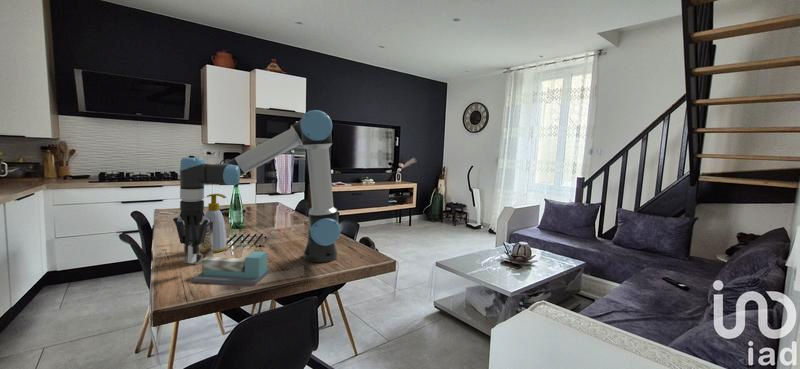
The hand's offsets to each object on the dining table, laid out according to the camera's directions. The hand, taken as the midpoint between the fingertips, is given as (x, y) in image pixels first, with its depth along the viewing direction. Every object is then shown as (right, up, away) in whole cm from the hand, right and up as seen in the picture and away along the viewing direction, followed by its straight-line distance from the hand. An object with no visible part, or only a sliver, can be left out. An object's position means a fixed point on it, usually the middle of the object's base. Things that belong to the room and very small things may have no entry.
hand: (192, 261), depth 127 cm
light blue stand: (+15, -6, +1) cm, 16 cm away
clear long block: (+12, -4, 0) cm, 13 cm away
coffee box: (-7, -3, +15) cm, 17 cm away
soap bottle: (-8, -1, +30) cm, 32 cm away
